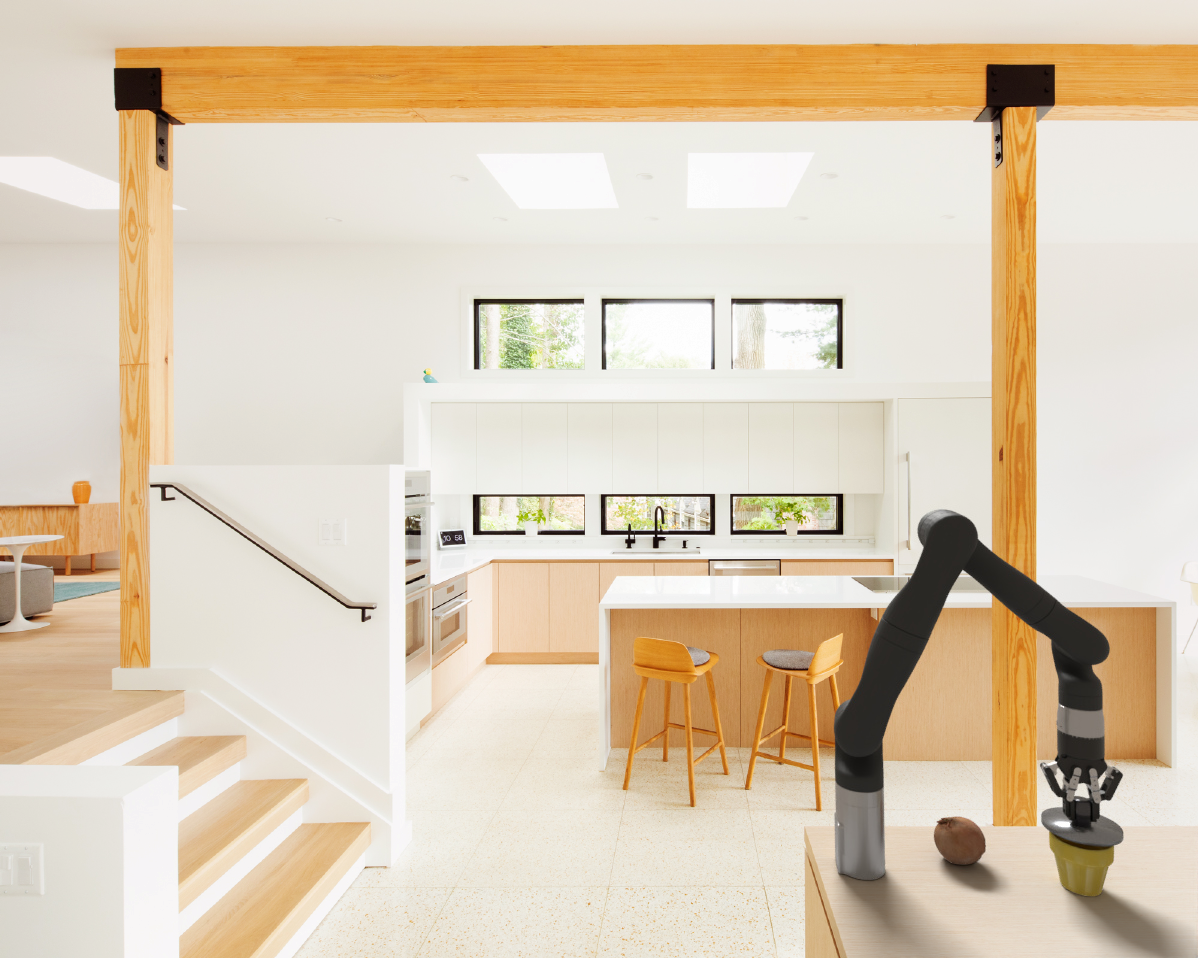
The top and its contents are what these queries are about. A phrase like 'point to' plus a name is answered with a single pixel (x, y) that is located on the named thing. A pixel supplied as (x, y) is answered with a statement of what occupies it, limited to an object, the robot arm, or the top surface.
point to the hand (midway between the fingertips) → (1081, 818)
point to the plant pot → (1081, 865)
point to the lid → (1082, 825)
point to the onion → (959, 840)
